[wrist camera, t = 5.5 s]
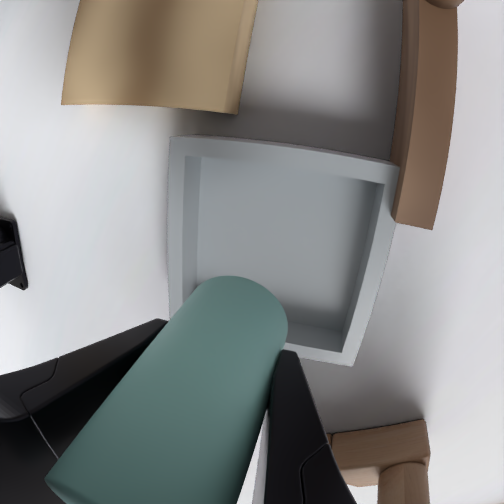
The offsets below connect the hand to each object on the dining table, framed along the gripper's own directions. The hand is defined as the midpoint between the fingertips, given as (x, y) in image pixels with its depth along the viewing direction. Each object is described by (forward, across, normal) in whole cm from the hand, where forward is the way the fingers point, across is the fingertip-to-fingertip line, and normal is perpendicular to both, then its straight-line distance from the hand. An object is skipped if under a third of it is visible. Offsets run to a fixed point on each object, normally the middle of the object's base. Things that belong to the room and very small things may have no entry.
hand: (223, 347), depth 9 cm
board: (+9, +7, -10) cm, 15 cm away
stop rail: (+9, -6, -9) cm, 14 cm away
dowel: (+1, 0, 0) cm, 1 cm away
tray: (+9, 0, 0) cm, 9 cm away
